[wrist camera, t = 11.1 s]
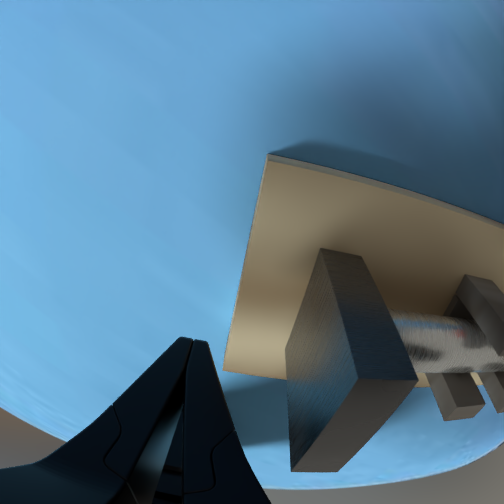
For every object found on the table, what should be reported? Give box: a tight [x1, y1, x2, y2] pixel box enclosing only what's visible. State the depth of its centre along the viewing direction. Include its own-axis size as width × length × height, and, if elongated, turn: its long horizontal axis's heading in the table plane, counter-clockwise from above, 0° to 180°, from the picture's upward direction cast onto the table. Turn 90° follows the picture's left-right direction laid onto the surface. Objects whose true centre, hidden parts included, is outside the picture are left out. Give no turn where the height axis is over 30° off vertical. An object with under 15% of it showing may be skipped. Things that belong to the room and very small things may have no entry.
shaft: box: [285, 248, 504, 472], centre depth 10 cm, size 5×14×6 cm, turn 79°
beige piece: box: [223, 154, 504, 421], centre depth 12 cm, size 10×19×5 cm, turn 79°
